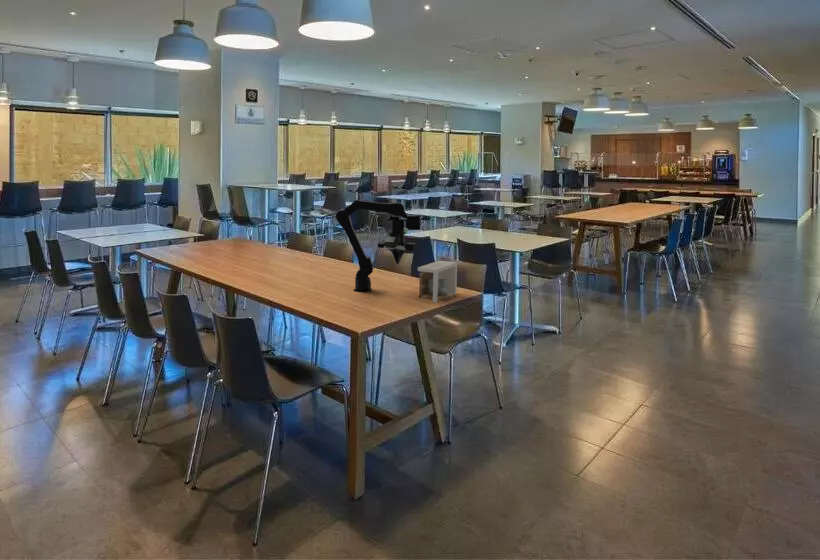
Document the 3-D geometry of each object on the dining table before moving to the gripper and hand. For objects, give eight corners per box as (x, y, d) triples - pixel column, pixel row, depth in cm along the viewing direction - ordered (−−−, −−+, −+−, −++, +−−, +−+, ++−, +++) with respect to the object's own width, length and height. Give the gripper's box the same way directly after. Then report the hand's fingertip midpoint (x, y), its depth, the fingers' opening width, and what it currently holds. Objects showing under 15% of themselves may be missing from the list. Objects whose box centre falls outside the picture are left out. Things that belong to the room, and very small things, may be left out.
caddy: (419, 297, 267) (419, 273, 265) (429, 293, 275) (429, 269, 273) (445, 301, 261) (446, 276, 258) (455, 296, 269) (456, 272, 267)
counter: (417, 300, 261) (417, 267, 258) (438, 291, 279) (439, 260, 276) (435, 302, 257) (436, 269, 254) (456, 293, 275) (457, 262, 272)
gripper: (371, 230, 273) (371, 264, 276) (407, 233, 264) (406, 268, 267) (383, 228, 282) (383, 261, 285) (418, 230, 273) (418, 264, 277)
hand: (397, 263), depth 278 cm, fingers closed
